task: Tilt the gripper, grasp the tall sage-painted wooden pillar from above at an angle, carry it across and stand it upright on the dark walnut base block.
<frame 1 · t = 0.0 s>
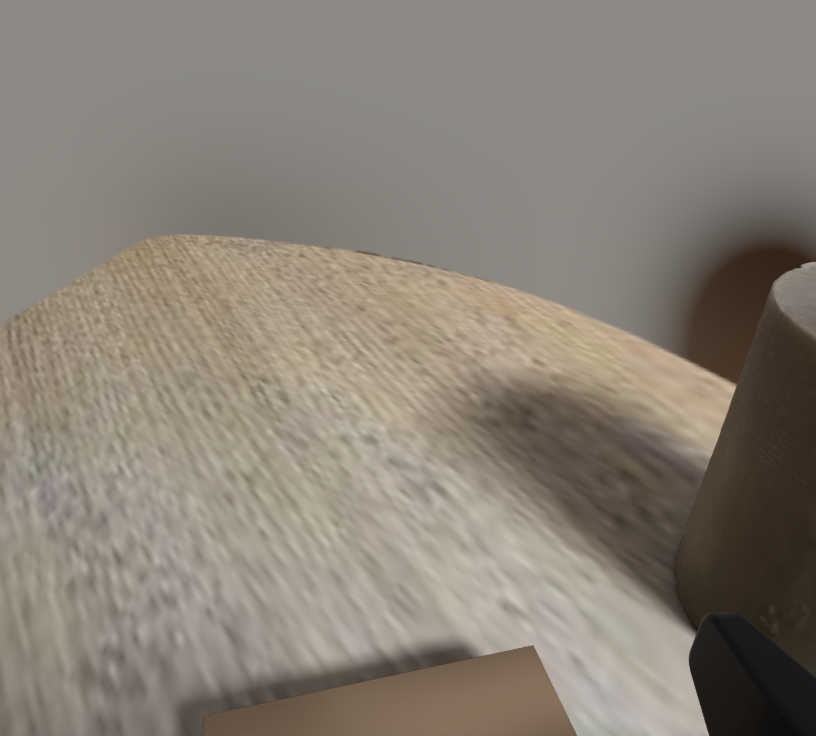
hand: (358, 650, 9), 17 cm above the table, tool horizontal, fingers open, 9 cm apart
pillar candle: (791, 606, 32), on the table
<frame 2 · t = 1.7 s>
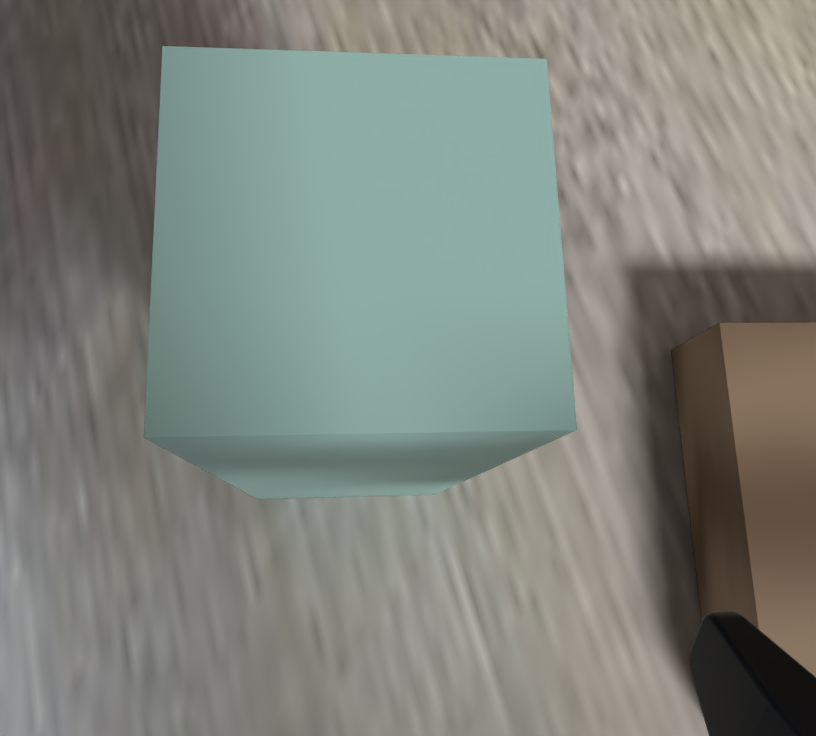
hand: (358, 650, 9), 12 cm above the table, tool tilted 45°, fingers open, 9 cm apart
pillar: (346, 410, 22), on the table
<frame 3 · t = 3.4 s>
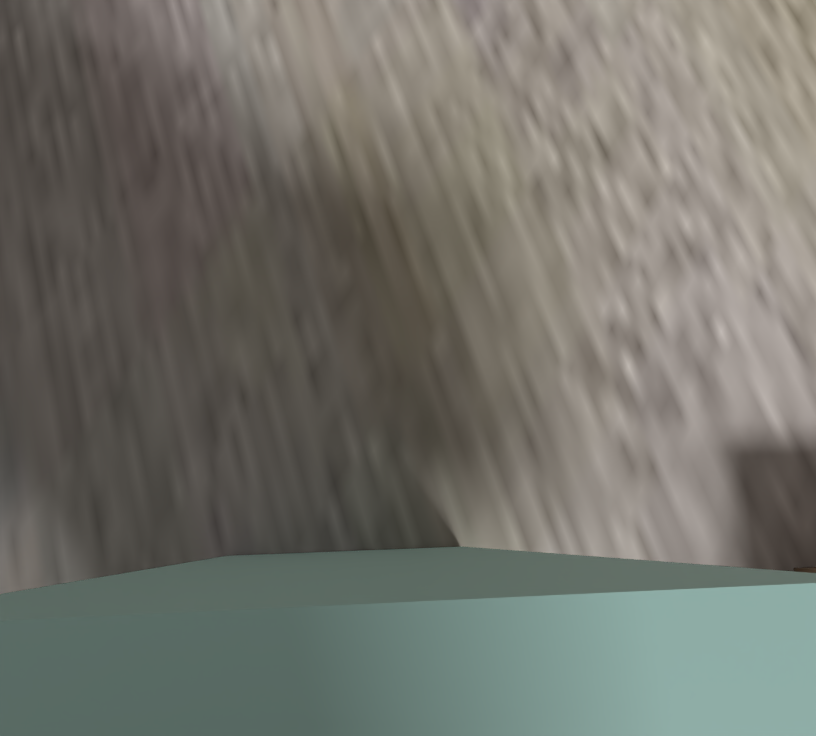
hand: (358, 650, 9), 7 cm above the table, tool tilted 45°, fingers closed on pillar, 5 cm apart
pillar: (348, 675, 15), on the table, touching gripper
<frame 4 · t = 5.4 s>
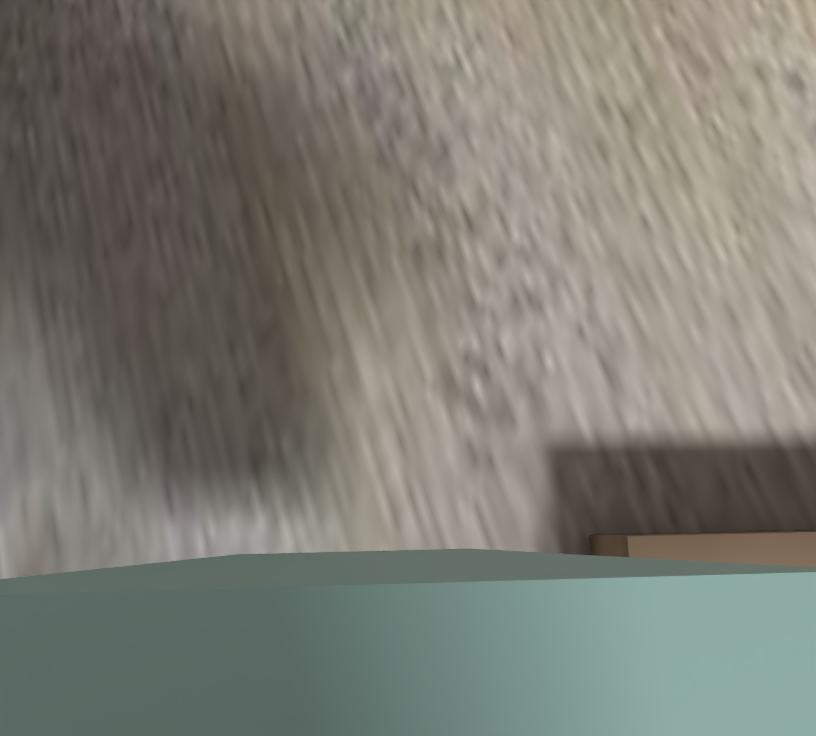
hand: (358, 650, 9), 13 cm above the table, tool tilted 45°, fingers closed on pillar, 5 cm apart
pillar: (355, 675, 16), point 6 cm above the table, touching gripper
walnut base: (778, 716, 23), on the table
when the fingers open (11 cm above the table, at t = 7.3 s): pillar drops 1 cm, resting on walnut base.
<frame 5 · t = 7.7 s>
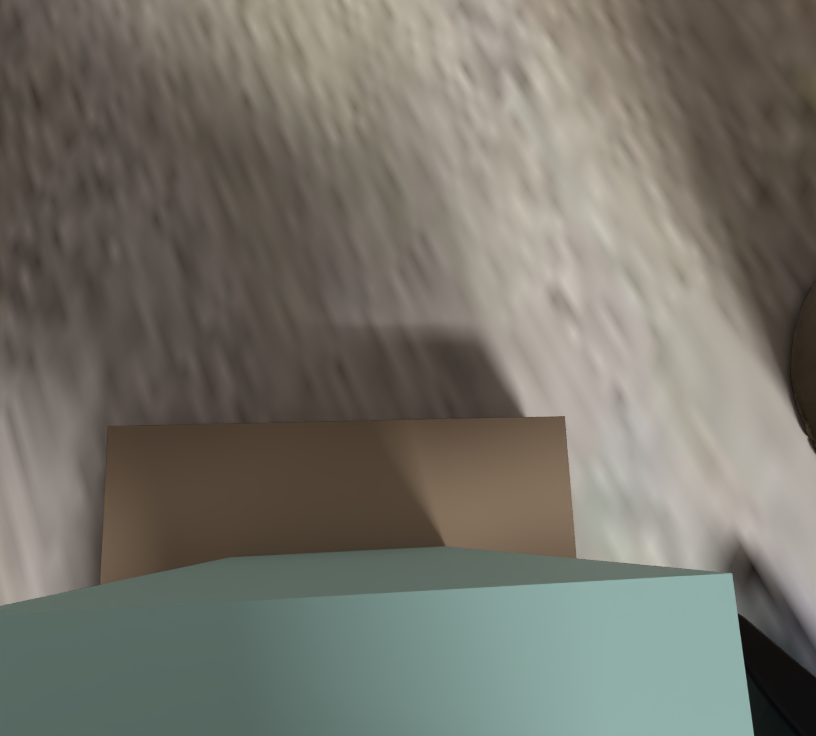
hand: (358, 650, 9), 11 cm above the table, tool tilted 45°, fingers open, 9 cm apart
pillar: (342, 665, 17), point 3 cm above the table, touching walnut base
walnut base: (345, 643, 20), on the table
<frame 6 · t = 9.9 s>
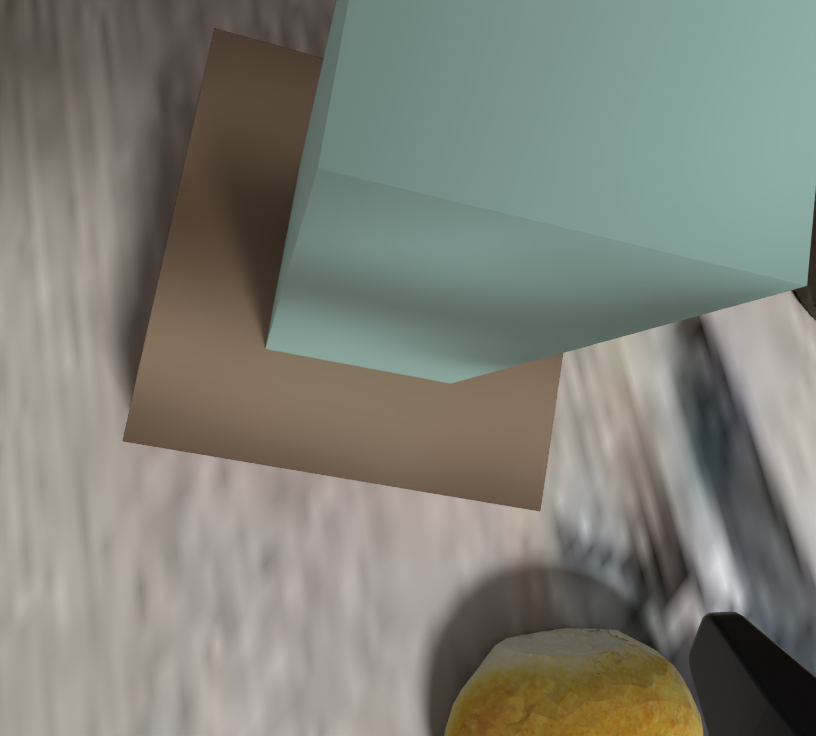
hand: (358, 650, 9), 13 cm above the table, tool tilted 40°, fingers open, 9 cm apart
pillar: (375, 275, 20), point 3 cm above the table, touching walnut base
walnut base: (362, 295, 23), on the table
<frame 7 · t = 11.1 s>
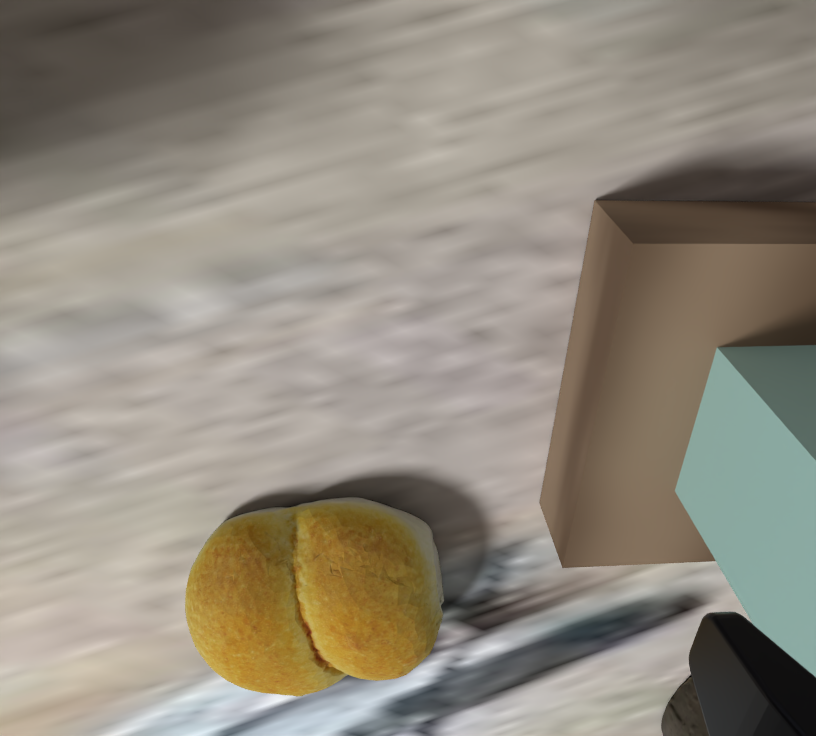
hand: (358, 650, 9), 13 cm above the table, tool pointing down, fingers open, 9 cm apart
pillar: (778, 420, 21), point 3 cm above the table, touching walnut base
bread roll: (323, 564, 27), on the table
pillar candle: (761, 700, 35), on the table
walnut base: (731, 368, 24), on the table
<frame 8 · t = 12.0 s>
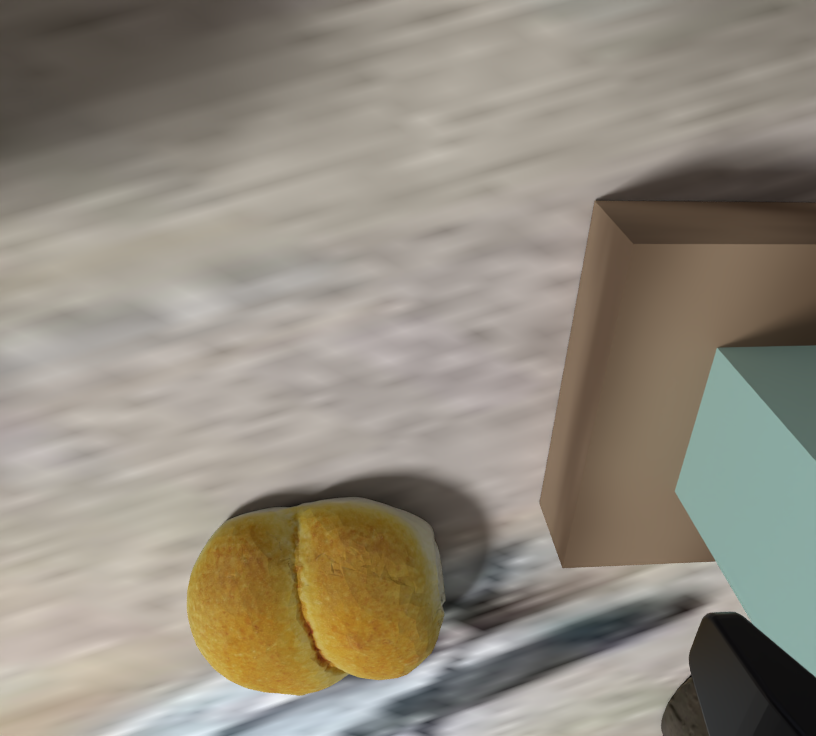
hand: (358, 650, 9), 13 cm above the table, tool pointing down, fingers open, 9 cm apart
pillar: (778, 421, 21), point 3 cm above the table, touching walnut base
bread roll: (325, 563, 27), on the table
pillar candle: (760, 700, 35), on the table
walnut base: (731, 368, 24), on the table
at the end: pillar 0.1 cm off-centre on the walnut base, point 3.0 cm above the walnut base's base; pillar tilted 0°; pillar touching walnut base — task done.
